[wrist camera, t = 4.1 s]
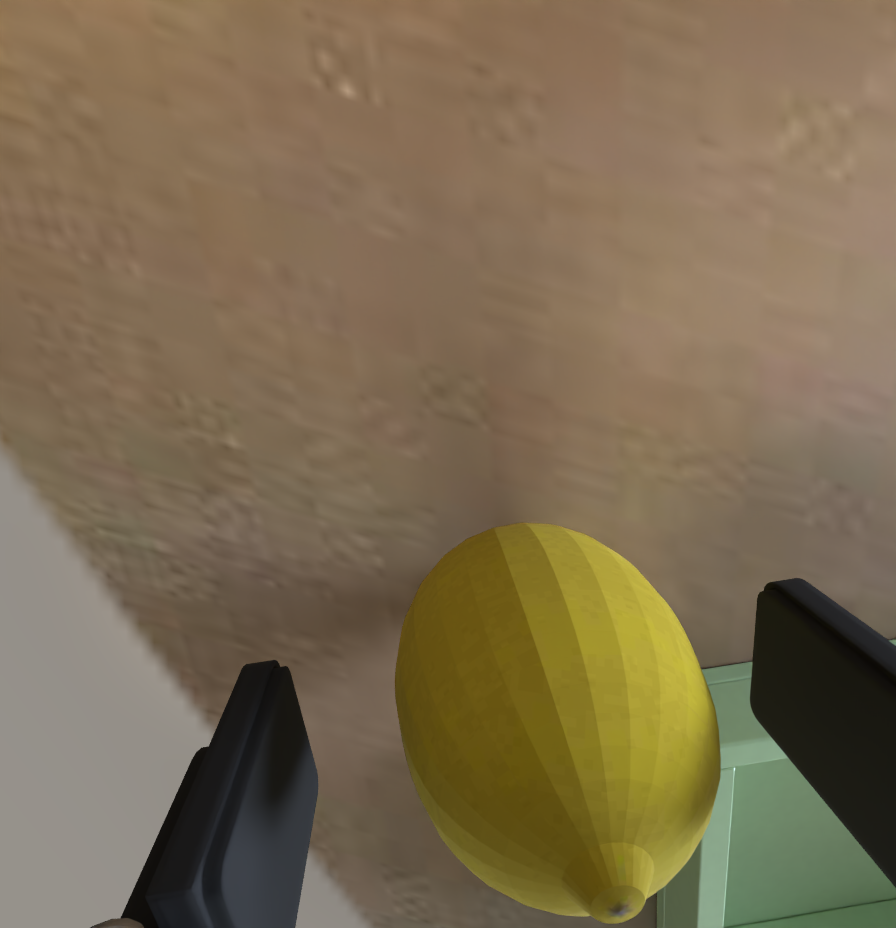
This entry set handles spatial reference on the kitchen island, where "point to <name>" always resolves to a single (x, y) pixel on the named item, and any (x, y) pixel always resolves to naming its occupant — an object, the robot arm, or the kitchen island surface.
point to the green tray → (770, 840)
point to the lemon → (556, 721)
